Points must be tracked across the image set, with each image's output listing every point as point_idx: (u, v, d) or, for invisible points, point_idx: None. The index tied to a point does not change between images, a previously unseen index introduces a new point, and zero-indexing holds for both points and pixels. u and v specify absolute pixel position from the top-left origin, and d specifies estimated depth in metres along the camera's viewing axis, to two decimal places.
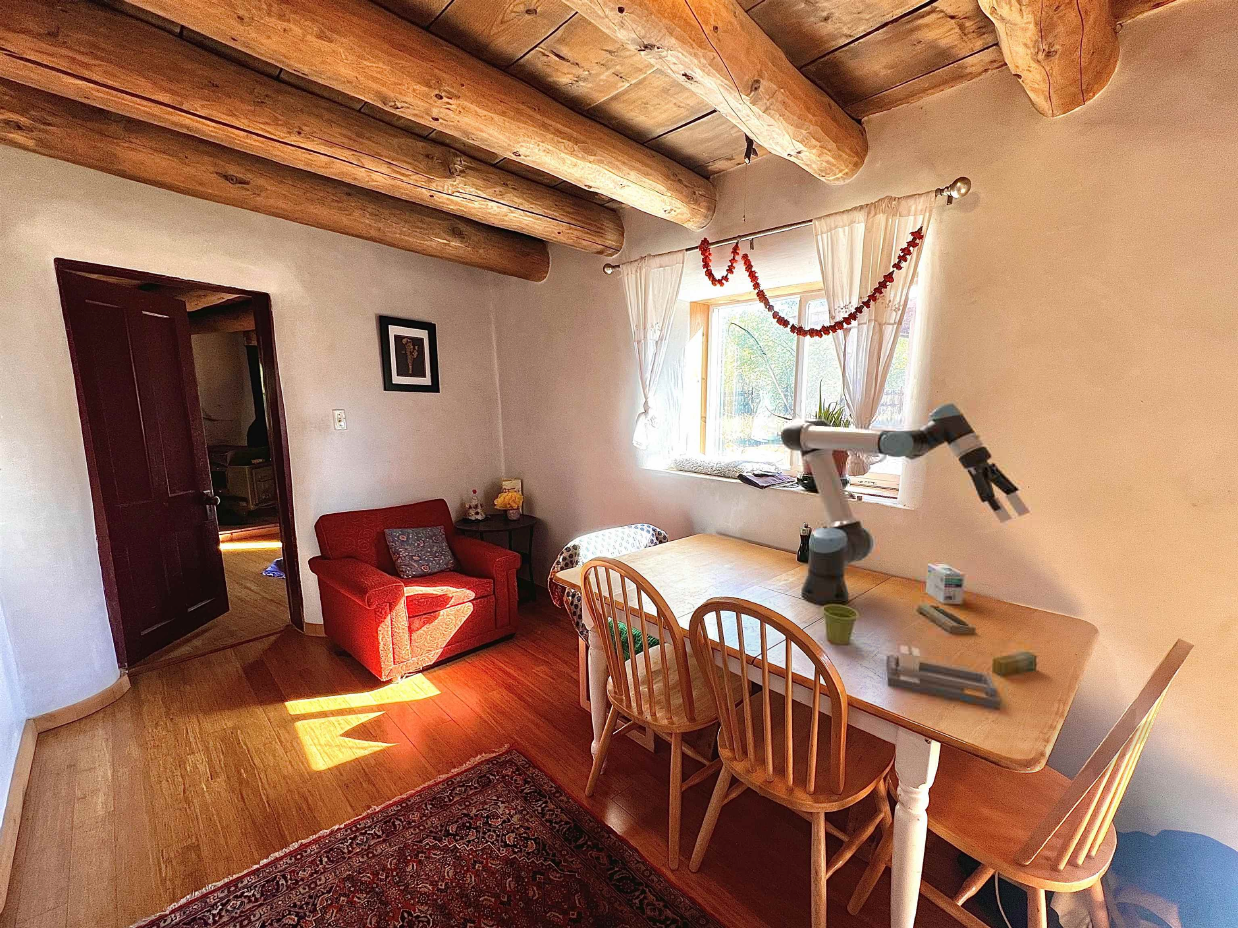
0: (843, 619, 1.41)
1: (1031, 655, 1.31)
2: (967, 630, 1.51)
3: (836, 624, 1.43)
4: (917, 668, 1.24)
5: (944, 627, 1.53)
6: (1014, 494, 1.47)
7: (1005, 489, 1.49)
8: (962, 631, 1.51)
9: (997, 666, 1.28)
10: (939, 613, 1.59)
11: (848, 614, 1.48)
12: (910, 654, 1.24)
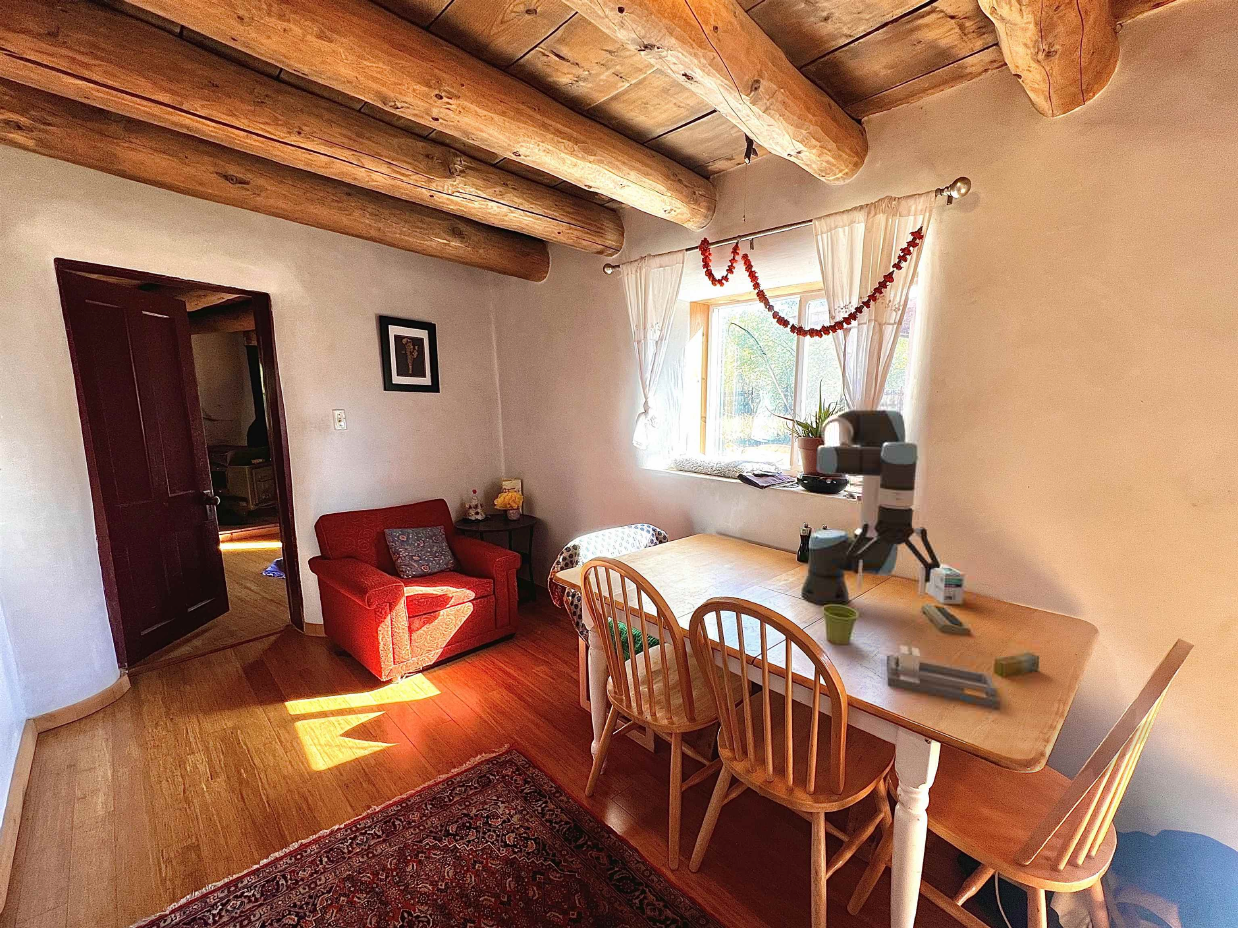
0: (843, 619, 1.41)
1: (1033, 656, 1.30)
2: (961, 630, 1.51)
3: (836, 624, 1.43)
4: (917, 668, 1.24)
5: (937, 626, 1.54)
6: (921, 571, 1.23)
7: None
8: (955, 631, 1.51)
9: (999, 667, 1.28)
10: (939, 613, 1.59)
11: (848, 614, 1.48)
12: (910, 654, 1.24)
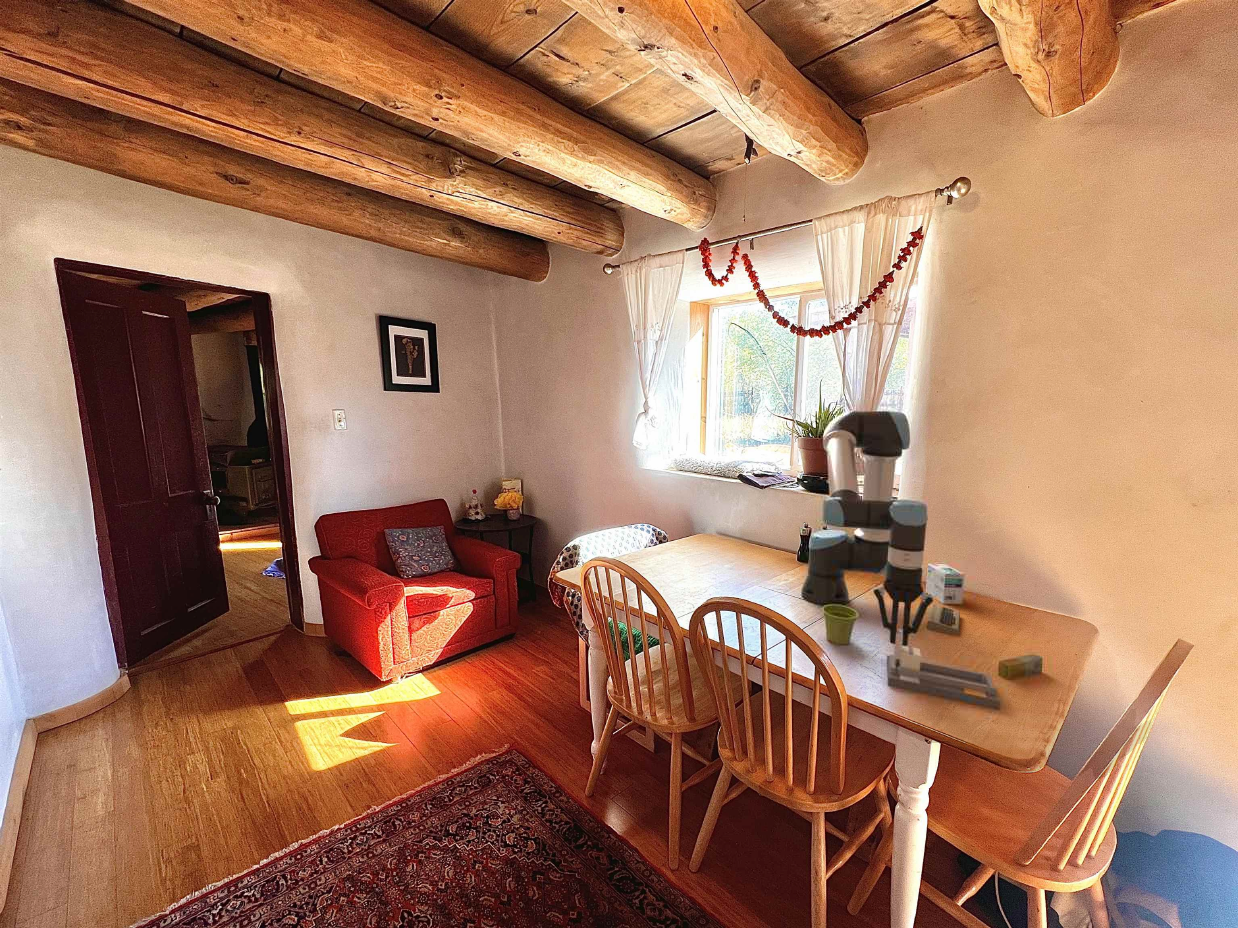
0: (843, 619, 1.41)
1: (1037, 658, 1.29)
2: (947, 629, 1.51)
3: (836, 624, 1.43)
4: (918, 668, 1.24)
5: None
6: None
7: (903, 622, 1.26)
8: (941, 629, 1.52)
9: (1003, 669, 1.27)
10: (938, 612, 1.59)
11: (848, 614, 1.48)
12: (911, 654, 1.24)
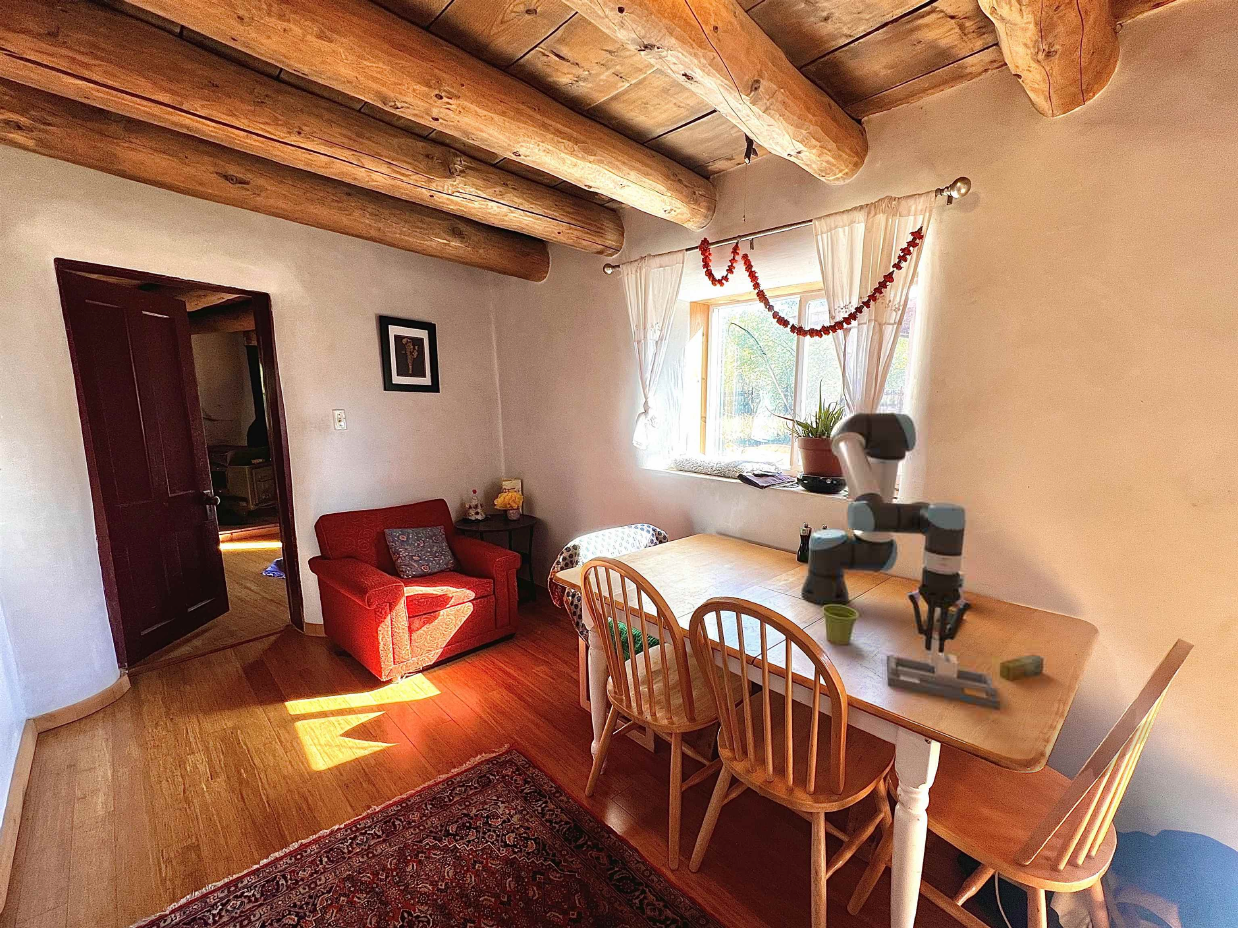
0: (843, 619, 1.41)
1: (1038, 658, 1.29)
2: None
3: (836, 624, 1.43)
4: (955, 676, 1.20)
5: None
6: None
7: (939, 628, 1.23)
8: (937, 628, 1.53)
9: (1005, 670, 1.26)
10: (938, 612, 1.60)
11: (848, 614, 1.48)
12: (948, 661, 1.21)
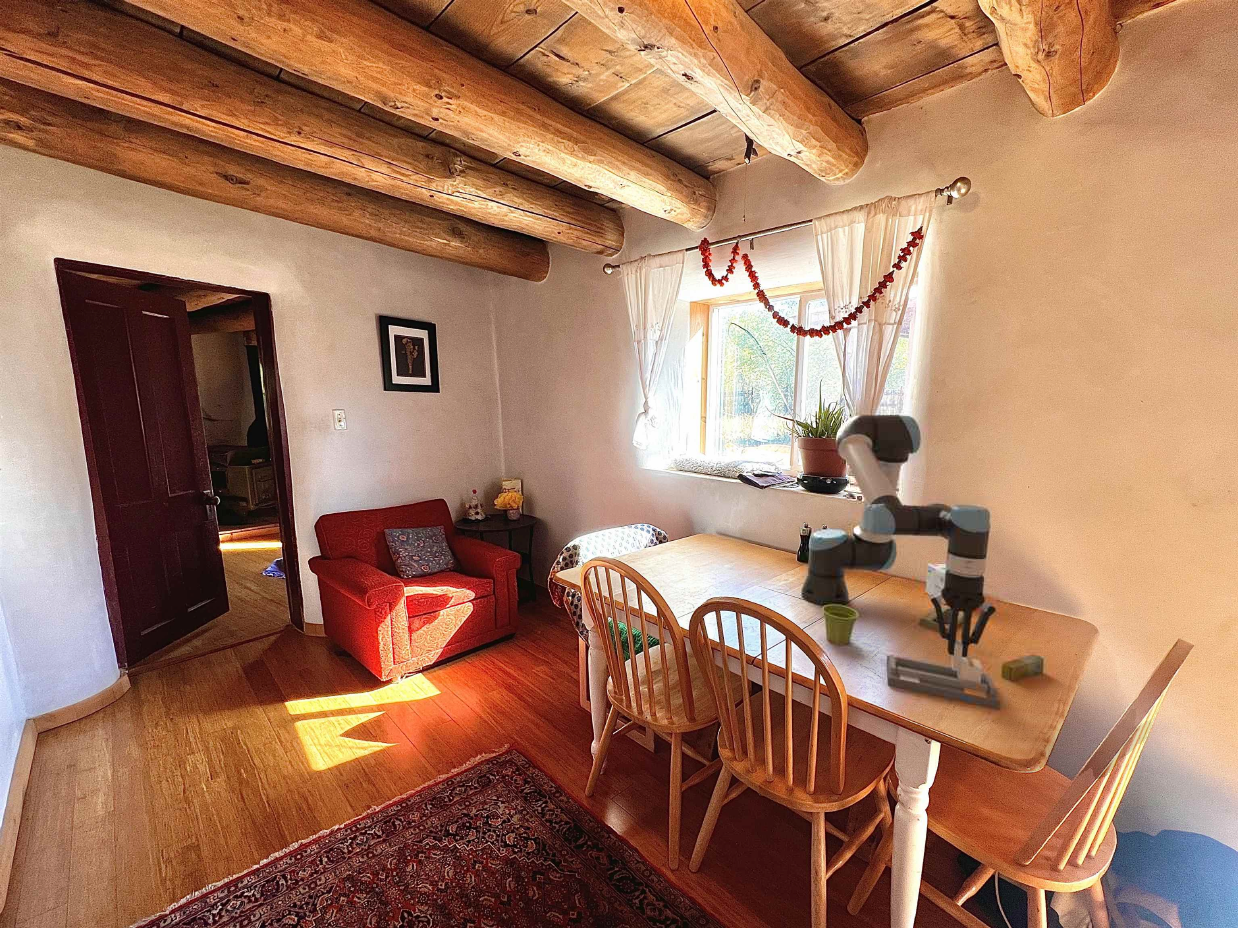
0: (843, 619, 1.41)
1: (1038, 658, 1.29)
2: (938, 628, 1.52)
3: (836, 624, 1.43)
4: (979, 681, 1.18)
5: None
6: None
7: (962, 632, 1.21)
8: (932, 627, 1.53)
9: (1007, 671, 1.26)
10: None
11: (848, 614, 1.48)
12: (971, 666, 1.19)
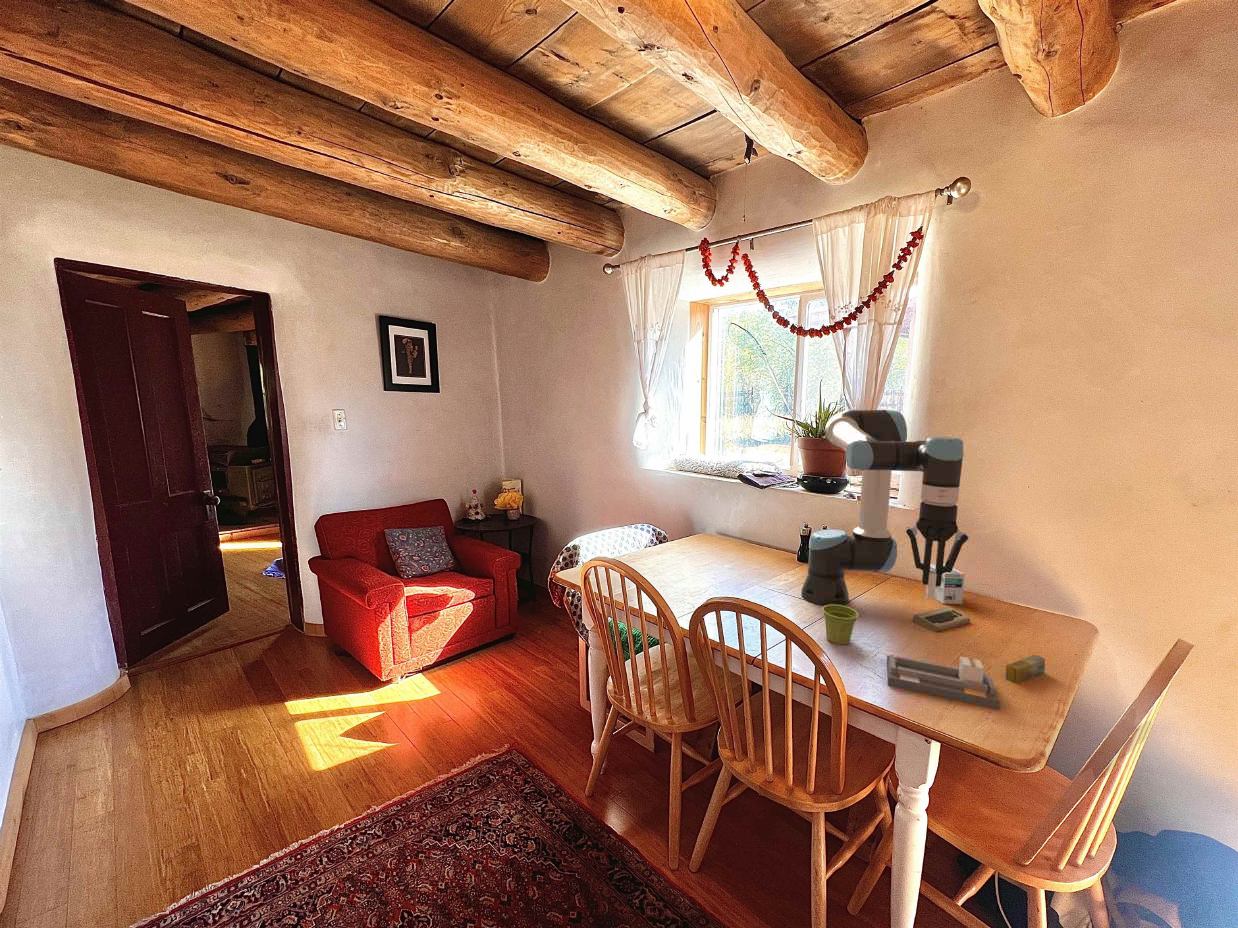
0: (843, 619, 1.41)
1: (1040, 659, 1.29)
2: (929, 625, 1.54)
3: (836, 624, 1.43)
4: (980, 681, 1.18)
5: None
6: None
7: (936, 562, 1.23)
8: (924, 624, 1.55)
9: (1012, 673, 1.25)
10: (938, 612, 1.60)
11: (848, 614, 1.48)
12: (973, 666, 1.19)
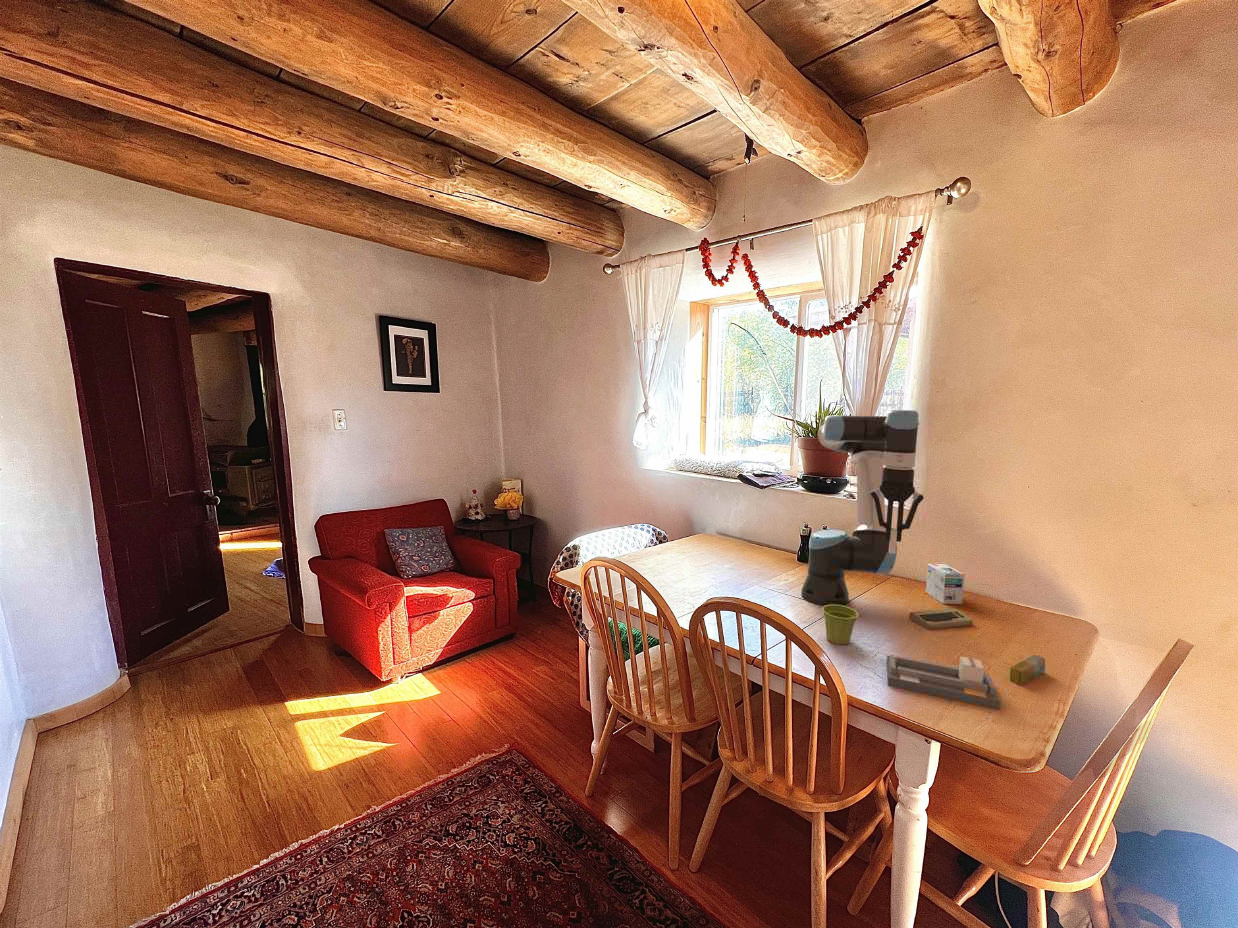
0: (843, 619, 1.41)
1: (1040, 659, 1.29)
2: (922, 623, 1.56)
3: (836, 624, 1.43)
4: (980, 681, 1.18)
5: None
6: None
7: (897, 520, 1.40)
8: (918, 622, 1.57)
9: (1016, 675, 1.24)
10: (938, 612, 1.60)
11: (848, 614, 1.48)
12: (973, 666, 1.19)
